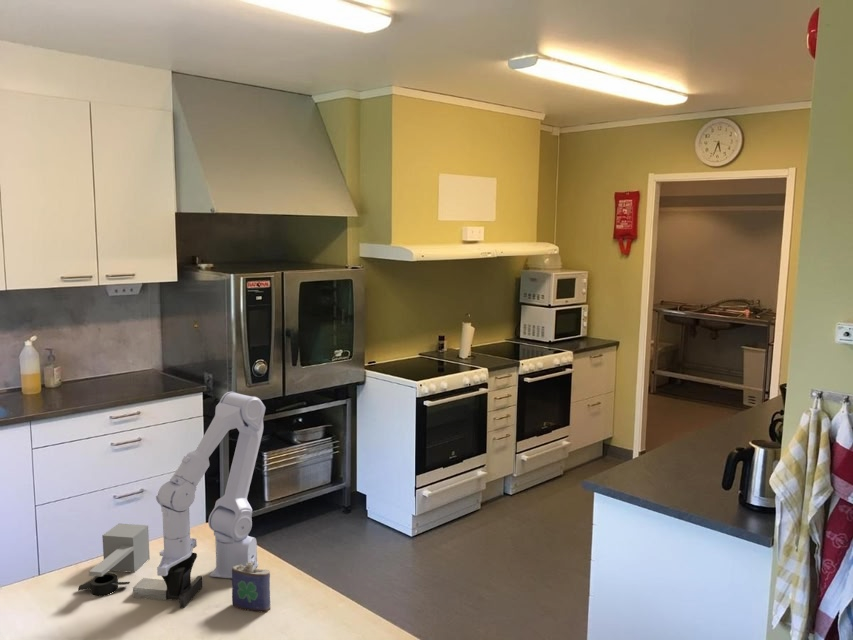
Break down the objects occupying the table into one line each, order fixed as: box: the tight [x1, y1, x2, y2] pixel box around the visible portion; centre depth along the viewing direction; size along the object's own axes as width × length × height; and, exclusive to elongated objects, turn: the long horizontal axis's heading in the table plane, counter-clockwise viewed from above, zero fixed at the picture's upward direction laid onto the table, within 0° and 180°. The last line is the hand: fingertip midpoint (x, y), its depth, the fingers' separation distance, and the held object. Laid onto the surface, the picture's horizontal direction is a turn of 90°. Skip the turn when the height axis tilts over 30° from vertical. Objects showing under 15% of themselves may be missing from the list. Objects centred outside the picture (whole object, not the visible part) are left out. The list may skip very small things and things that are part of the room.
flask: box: [231, 561, 271, 613], centre depth 153 cm, size 9×3×11 cm, turn 74°
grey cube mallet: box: [88, 523, 151, 577], centre depth 165 cm, size 8×20×9 cm, turn 172°
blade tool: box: [132, 568, 204, 609], centre depth 158 cm, size 14×9×6 cm, turn 82°
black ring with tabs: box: [77, 572, 131, 597], centre depth 160 cm, size 8×10×3 cm
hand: (179, 590), depth 158 cm, fingers closed on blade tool, 3 cm apart
